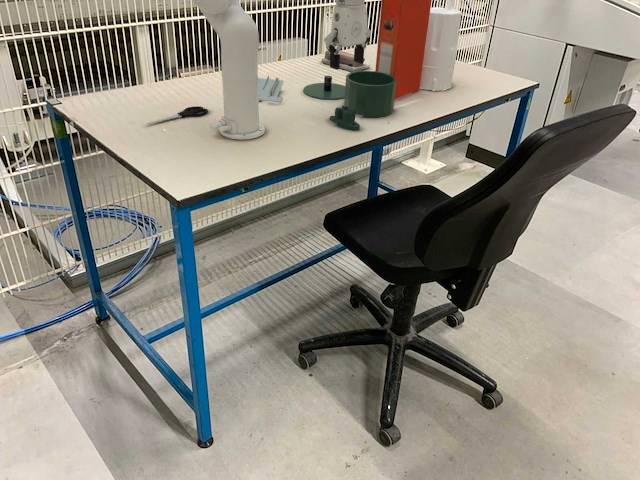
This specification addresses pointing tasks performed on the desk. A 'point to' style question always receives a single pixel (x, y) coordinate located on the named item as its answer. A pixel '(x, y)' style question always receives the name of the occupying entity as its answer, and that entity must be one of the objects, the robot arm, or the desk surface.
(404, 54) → the file binder
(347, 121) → the mount
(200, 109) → the scissors
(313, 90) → the lid
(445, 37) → the white cylindrical canister
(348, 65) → the packaged product
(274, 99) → the metal bracket
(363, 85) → the pot
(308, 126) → the desk surface
